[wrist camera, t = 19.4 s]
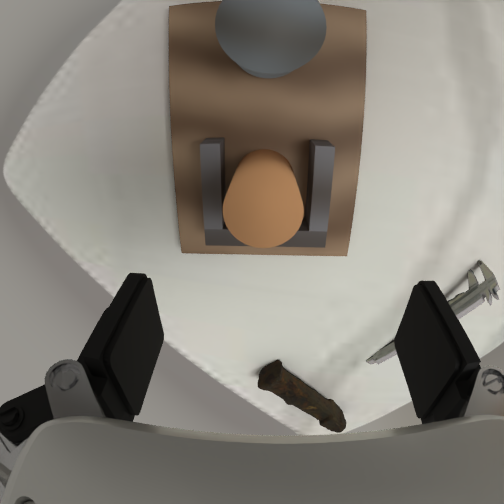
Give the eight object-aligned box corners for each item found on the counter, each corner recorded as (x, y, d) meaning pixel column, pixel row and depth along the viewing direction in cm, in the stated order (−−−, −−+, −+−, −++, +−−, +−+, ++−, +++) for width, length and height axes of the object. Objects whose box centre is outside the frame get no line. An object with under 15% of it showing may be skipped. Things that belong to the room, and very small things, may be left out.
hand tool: (255, 367, 41) (254, 395, 37) (279, 355, 40) (280, 383, 36) (328, 417, 48) (331, 440, 44) (348, 408, 46) (352, 432, 42)
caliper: (478, 257, 32) (505, 286, 26) (481, 262, 32) (507, 290, 27) (365, 359, 40) (375, 395, 35) (369, 362, 40) (380, 397, 35)
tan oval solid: (233, 149, 26) (220, 173, 19) (294, 149, 25) (305, 173, 18) (236, 205, 28) (225, 248, 21) (293, 205, 28) (301, 248, 21)
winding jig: (173, 9, 21) (130, -22, 12) (361, 13, 20) (407, -16, 12) (184, 245, 32) (158, 308, 23) (343, 248, 31) (370, 312, 23)
